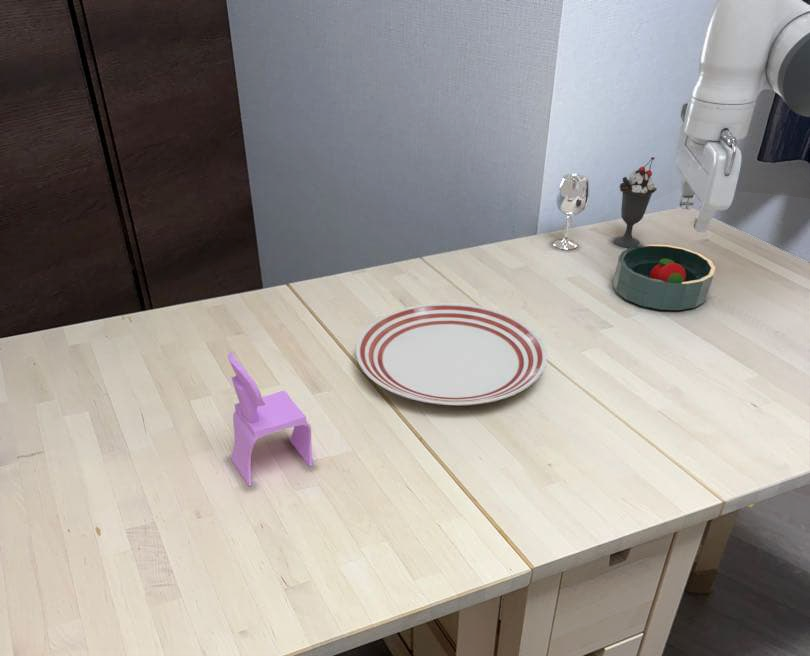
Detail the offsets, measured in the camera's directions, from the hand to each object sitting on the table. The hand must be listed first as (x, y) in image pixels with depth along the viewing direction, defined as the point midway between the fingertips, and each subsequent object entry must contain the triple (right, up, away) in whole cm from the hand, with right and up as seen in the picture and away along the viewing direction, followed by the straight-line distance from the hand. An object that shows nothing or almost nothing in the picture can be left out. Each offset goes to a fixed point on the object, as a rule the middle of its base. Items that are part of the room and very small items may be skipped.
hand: (692, 218), depth 116 cm
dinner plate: (-38, -25, -7) cm, 46 cm away
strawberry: (-1, -7, +12) cm, 14 cm away
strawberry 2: (-1, -6, +8) cm, 10 cm away
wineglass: (-14, +6, +26) cm, 31 cm away
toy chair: (-61, -40, -23) cm, 77 cm away
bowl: (-1, -7, +12) cm, 14 cm away
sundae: (-2, +7, +27) cm, 28 cm away
